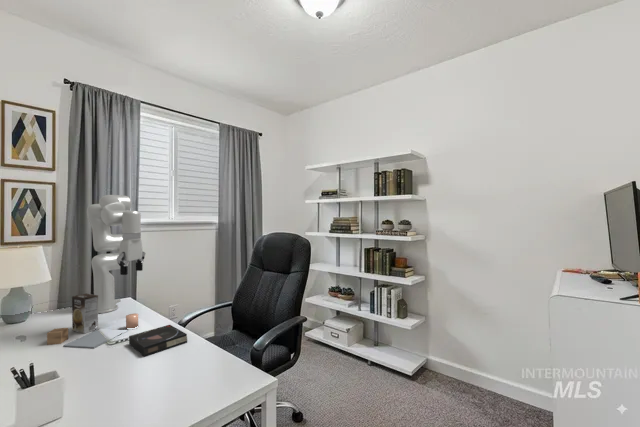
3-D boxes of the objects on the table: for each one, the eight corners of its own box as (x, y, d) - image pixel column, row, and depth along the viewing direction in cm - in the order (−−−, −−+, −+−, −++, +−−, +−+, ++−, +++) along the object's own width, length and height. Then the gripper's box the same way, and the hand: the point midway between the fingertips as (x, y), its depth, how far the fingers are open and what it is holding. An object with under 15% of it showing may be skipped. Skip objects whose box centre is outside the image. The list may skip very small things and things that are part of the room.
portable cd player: (144, 358, 114) (144, 347, 114) (129, 345, 125) (129, 335, 125) (187, 343, 126) (187, 334, 126) (169, 333, 138) (169, 324, 138)
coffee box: (71, 331, 140) (71, 296, 139) (86, 326, 146) (86, 292, 145) (83, 333, 136) (83, 298, 136) (98, 328, 142) (98, 294, 142)
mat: (100, 329, 141) (100, 328, 141) (127, 331, 139) (127, 329, 139) (63, 346, 123) (63, 345, 123) (94, 348, 121) (94, 346, 121)
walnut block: (54, 340, 130) (54, 328, 130) (68, 339, 131) (68, 327, 131) (47, 345, 125) (47, 333, 125) (61, 343, 126) (61, 332, 126)
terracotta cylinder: (131, 325, 146) (131, 313, 146) (140, 325, 145) (140, 313, 145) (123, 329, 141) (123, 316, 141) (133, 329, 141) (133, 317, 140)
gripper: (137, 235, 152) (137, 269, 152) (109, 238, 135) (109, 276, 135) (151, 235, 151) (151, 269, 151) (124, 238, 134) (125, 276, 134)
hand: (131, 272), depth 143 cm, fingers open, 9 cm apart
